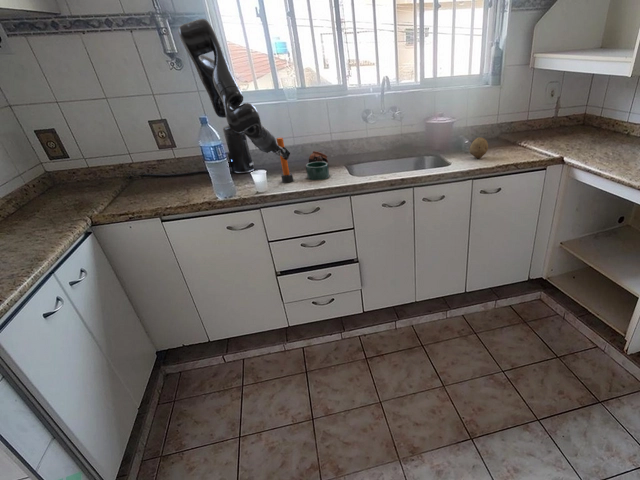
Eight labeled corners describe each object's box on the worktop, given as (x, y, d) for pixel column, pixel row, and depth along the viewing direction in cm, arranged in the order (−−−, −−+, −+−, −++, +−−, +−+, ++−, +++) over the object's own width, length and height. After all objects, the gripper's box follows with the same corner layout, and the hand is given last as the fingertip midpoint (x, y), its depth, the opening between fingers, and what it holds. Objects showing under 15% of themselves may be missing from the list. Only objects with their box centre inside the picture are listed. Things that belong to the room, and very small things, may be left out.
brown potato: (488, 160, 189) (490, 139, 183) (470, 161, 189) (472, 139, 184) (485, 156, 197) (487, 135, 191) (468, 156, 197) (469, 135, 191)
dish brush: (280, 182, 169) (271, 139, 159) (284, 179, 173) (276, 137, 163) (291, 182, 168) (282, 139, 158) (295, 179, 172) (287, 137, 162)
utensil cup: (304, 179, 172) (302, 167, 168) (311, 173, 180) (309, 161, 176) (325, 180, 170) (324, 167, 167) (332, 173, 178) (330, 161, 175)
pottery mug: (305, 167, 191) (309, 150, 190) (323, 173, 195) (327, 157, 194) (309, 166, 180) (314, 148, 179) (328, 173, 185) (333, 156, 183)
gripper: (241, 141, 145) (258, 156, 161) (276, 154, 145) (289, 168, 161) (248, 122, 145) (264, 139, 161) (283, 135, 145) (296, 151, 161)
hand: (277, 154), depth 161 cm, fingers open, 8 cm apart
